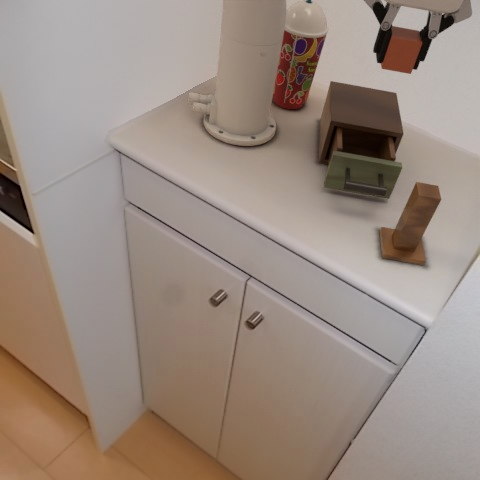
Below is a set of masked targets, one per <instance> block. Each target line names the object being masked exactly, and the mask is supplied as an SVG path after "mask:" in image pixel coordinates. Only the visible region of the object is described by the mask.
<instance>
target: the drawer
mask: <svg viewBox="0 0 480 480" xmlns="http://www.w3.org/2000/svg"><path fill="white" fill-rule="evenodd" d="M396 160H397V156H396V154H395V149H394V142H393V136H388V135H383V134H377V133H372V132H366V131H361V130H355V129H349V128H344V127H338V126H334V129H333V133H332V136H331V140H330V143H329V164H328V167H327V170H326V174H325V177H324V179H323V188H325V189H331V190H335V191H340V192H341V191H342V192H346V193H352V194H358V195H362V196H363V195H364V196H369V197H375V198H380V199H387V200H390V198H391V197H392V193H393V191H394V188H395V187H396V184H397V181H398V180H399V176H400V174H401V172H402V170H403V163H402V162H399V161H396Z"/></svg>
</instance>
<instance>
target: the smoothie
mask: <svg viewBox="0 0 480 480" xmlns="http://www.w3.org/2000/svg"><path fill="white" fill-rule="evenodd" d="M286 10H287V12H286V23H285V30H284V35H283V42H282V48H281V53H280V59H279V64H278V70H277V75H276V81H275V86H274V92H273V97H272V100H273V102H274V103H275V104H276V105H277V106H279V107H281V108H284V109H287V110H298V109H300V108H302V107H303V105H304V104H305V102H306V101H308V98H309V94H310V91H311V88H312V85H313V81H314V78H315V74H316V71H317V68H318V64H319V61H320V58H321V54H322V51H323V48H324V44H325V42H326V37H327V34H328V33H329V26H328V24H327V18H326V15H325V13H324V11H323V9H322V7H321V6H320V5H319V4H317V2H314V1H312V0H299V1H296V2H294V3H293V4H291V5H290V6H289V7H288V8H287V9H286Z"/></svg>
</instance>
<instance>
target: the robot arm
mask: <svg viewBox="0 0 480 480" xmlns="http://www.w3.org/2000/svg"><path fill="white" fill-rule="evenodd" d="M363 1H364V3H365V4H366V5H367V6H368V7H369V9H371V10H372V13H373V14H374V16H375V18H376V20H377V22H378V24H379V28H378V32H377V35H376V38H375V40H374V41H375V42H374V45H373V49H372V51H373V54H375V58H376V63H377V64H381V63H383V60H384V57H385V54H386V51H387V48H388V45H389V42H390V39H391V36H392V29H391V28H392V26H393V22H394V21H395V19H396V17H397V15H398V13H399V12H400V9H401V7H405V8H411V9H416V10H421V11H426V12H427V17H426V22H425V25H424V26H423V28H421V30H418V31H419V33H420V37H421V40H422V46H421V48H420V51H419V54H418V56H417V59H416V62H415V64H414V67H413V70H415V71H418V68H419V66H420V63H421V62H425V60H426V57H427V54H428V52H429V49H430V47H431V44H432V42H433V40H434V39H436V38H437V37H438V35H439V34H441V33H442V32H444V31H445V30H448V29H449V28H450V27H452V26H453V25H455V24H458V23H460V22H463V21H465V20H468V19H470V18H471V17H472V16H473V8H472V2H471V0H383V1H384V2H386V3H385V5H384V4H383V1H382V0H363ZM287 10H288V9H287V0H222V11H221V12H222V14H221V23H220V39H219V49H218V58H217V59H218V61H217V69H216V70H217V71H216V79H215V80H216V81H215V89H214V91H213V94H212V93H207V95H205V94H200V93H197V92H192V91H189V93H188V99H187V103H188V105H193V106H192V112H198V113H204V115H203V127H204V128H205V130H206V131H207V132H208V133H209V135H211V136H212V137H213V138H215V139H217V140H219V141H220V142H224V143H227V144H229V145H234V146H243V147H253V146H259V145H262V144H265V143H268V142H269V141H270V140H272V139H273V137H274V136H275V134H276V131H277V123H276V121H275V119H274V117H273V116H272V115H271V114H270V113H271V108H272V102H273V97H274V96H273V92H274V86H275V81H276V75H277V70H278V64H279V59H280V53H281V48H282V42H283V35H284V30H285V23H286V12H287Z"/></svg>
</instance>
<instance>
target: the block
mask: <svg viewBox="0 0 480 480" xmlns="http://www.w3.org/2000/svg"><path fill="white" fill-rule="evenodd" d="M391 29H392V36H391V39H390V42H389V45H388V48H387V51H386V54H385V57H384V60H383V63H380V67H381V70H387V71H391V72H392V71H393V72H397V73H403V74H407V75H411V74H412V73H413V70H414V69H413V67H414V64H415V62H416V59H417V56H418V54H419V51H420V48H421V46H422V40H421V37H420V33H419V31H420V30H418V29H417V30H416V29H411V28H406V27H400V26H396V25H395V26H394V25H392V28H391Z"/></svg>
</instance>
